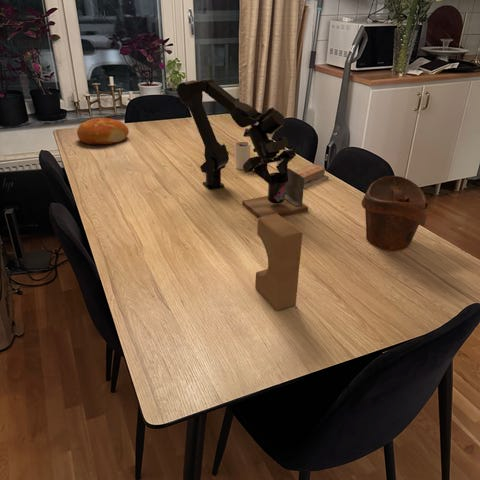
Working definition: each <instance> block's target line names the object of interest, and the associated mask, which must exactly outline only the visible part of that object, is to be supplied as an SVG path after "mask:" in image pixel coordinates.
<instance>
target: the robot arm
mask: <svg viewBox="0 0 480 480" xmlns="http://www.w3.org/2000/svg"><path fill="white" fill-rule="evenodd" d="M176 92H177V93H176V94H177V96H178V97H179V99H180V101H181V102H182V104H183V105H185V107H186V108H188V109H189V111H190V114H191V116H192V119H193V120H194V124H195V126H196V128H197V131H198V133H199V135H200V137H201V140H202V144H203V145H204V146H203V147H204V159H205V162H203V163H202V164H201V165H200V168H199V169H200V170H201V172H202V173H204V174H205V181H203V182H202V184H203V185H204V187H206V188H207V189H208V190H214V189H218V188H224V187H225V184H223V183H222V170H223V169H225V168H226V165H228V163H229V160H230V157H229V155H230V153H229V152H228V150H227V147H226V145H225V143H223V144H221V143H220V142H218V140H217V137H216V135H215V132H214V130H213V127H212V125H211V123H210V120H209V117H208V115H207V112H206V109H205V108H204V105H203V97H204V94H203V92H204V93H205V94H206V95H207V96H209V97H210V98H211V99H212V100H213V101H215V102H216V103H217V104H219V105H220V106H221V107H222V108H224V110H226V111H227V112H228V113H229V114H230V116H231V119H232V120H233V121H234V123H235V124H236V125H237V126H238V127H239V128H245V130H244V133H243V137H244V138H246V137H247V138H250V140H251V143H252V146H253V147H254V148H253V149H252V151H253V153H256V155H257V156H253V157H250V158H249V159H248V160H247V161H246V162H245V163H244V165H243V169H244V170H243V172H244V173H246V174H247V173H250V172H251V173H253V174H256V175H257V176H258V177H260V178H261V179H262V180H264V181H265V182H266V183H267V184H268V185H269V184H270V185H271V186H273V185H274V184H273V181H272V178H271V176H270V171H269V170H268V165H269V164H272V163H276V164H277V165H276V166H275V169H276V170H277V171H278V172H279V173H284V174H286V176H287V177H286V182H287V181H288V170H287V168H288V165H289V162H291V161H292V160H293V159H294V158H295V157H296V156H297V154H296V151H295V150H294V149H293V148H290V149H287V148H286V147H289V141H288V139H287V137H286V136H282V137H279V138H278V140H277V141H276V140H275V141H274V139H272V138H271V139H270V136H269V135H273V134H274V133H275V132H277V131H278V130H279V129H280V128H282V127H283V126H284V125H285V124H286V119H285V117H284V115H283V114H282V113H281V112H280V111H278V110H276V109H275V108H274V107H271V108H268V109H267V111H266V112H264V113H262V112H260V111H258V110H257V109H256V108H255V107H253V106H252V105H250V104H247V103H245V102H242V101H239V100H238V99H236V98H235V97H234V96H233V95H232V94H230V93H229V92H228V91H227V90H225V89H224V88H223V87H222V86H221V85H219V84H218V83H217V82H215V79H213V78H211V77H210V78H204V79H201V80H199V81H196V80H194V79H192V80H187V81H184V82H181V83H179V84H178V86H177V88H176ZM249 126H250V127H249ZM246 127H249V128H246ZM281 151H282V152H281Z"/></svg>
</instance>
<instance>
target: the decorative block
mask: <svg viewBox="0 0 480 480" xmlns="http://www.w3.org/2000/svg"><path fill="white" fill-rule="evenodd" d="M256 232H257V234H256V235H257V236H258V238H260V240H261V242H262V244H263V246H264V249H265V252H266V257H267V268H266V269H262V270H259V271H256V273H255V282H254V283H255V284H254V285H255V286H254V287H255V289H257V291H258V292H259V293H260V294H261V295H262V296H263V297H264V299H265V300H266V301H267V302H268V303H269V304H270V305H271V306H272V307H273V308H274V309H275V311H281V310H285V309H287V308H290V307H293V306H296V304H297V296H298V294H297V293H298V285H299V274H300V264H301V254H302V244H303V242H302V241H303V232H302V231H300V230H299V229H298V228H297V227H296V226H294V225H293V224H292V223H290V222H289V221H287V220H286V219H285V218H284V217H281V216H280V215H278V214H272V215H268V216H263V217H259V218H257V231H256Z"/></svg>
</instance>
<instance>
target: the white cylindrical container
mask: <svg viewBox="0 0 480 480" xmlns="http://www.w3.org/2000/svg"><path fill="white" fill-rule="evenodd" d="M251 147H252V145H251V142H249V141H243V140H241V141H236V142H234V166H235V169H236V170H243V171H244V169H243V165H244V163H245V162H246V161H247V160H248V159H249V158H251Z"/></svg>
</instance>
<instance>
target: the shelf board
mask: <svg viewBox="0 0 480 480" xmlns="http://www.w3.org/2000/svg"><path fill="white" fill-rule="evenodd" d="M287 170H288V181H287V182H286V189H285V200H284V202H282V203H278V204H276V203H271V202H269V201H268V195H264V196H260V197H254V198H250V199H249V198H248V199H244V200H242V201H241V205H242V206H243V207H244V208H245V209H247V210H248V211H249V212H250V213H251V214H253V216H255V217H256V218H257V219H258V218H259V217H263V216H268V215H272V214H278V215H280V216H281V217H282V218H284V217H287V216H291V215H296V214H301V213H304V212H305V213H306V212H308V211H309V206H308V205H306V204H304V203H303V198H304V189H305V188H304V179H305V178H304V177H302V176H301V175H299V174H297V173H296V172H294V171H295V170H292V169H291V168H289V167H287Z"/></svg>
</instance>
